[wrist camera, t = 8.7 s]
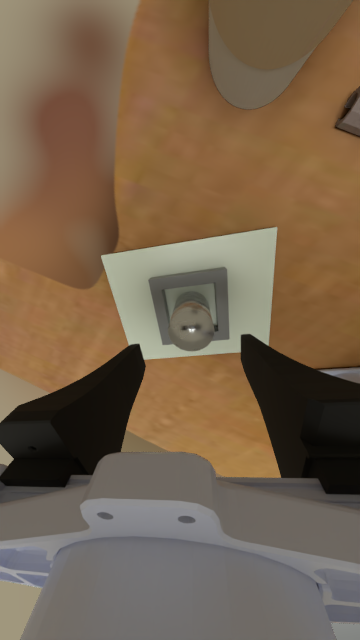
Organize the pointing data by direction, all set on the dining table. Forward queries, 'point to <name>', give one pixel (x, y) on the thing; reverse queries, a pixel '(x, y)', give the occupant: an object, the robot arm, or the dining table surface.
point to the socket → (196, 289)
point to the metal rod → (351, 114)
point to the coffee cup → (265, 44)
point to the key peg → (191, 322)
